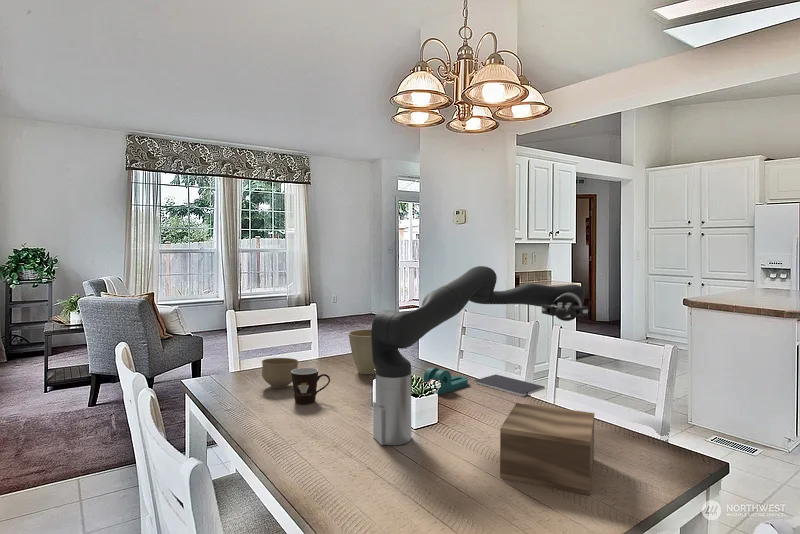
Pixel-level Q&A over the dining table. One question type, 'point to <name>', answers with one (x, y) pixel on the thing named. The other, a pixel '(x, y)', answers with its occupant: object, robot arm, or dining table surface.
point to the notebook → (509, 385)
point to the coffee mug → (306, 384)
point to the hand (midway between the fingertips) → (561, 314)
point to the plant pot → (362, 350)
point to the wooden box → (547, 462)
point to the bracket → (445, 379)
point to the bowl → (278, 371)
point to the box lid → (550, 424)
